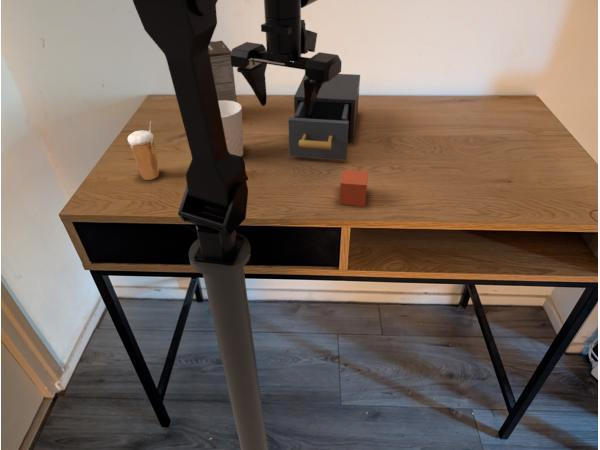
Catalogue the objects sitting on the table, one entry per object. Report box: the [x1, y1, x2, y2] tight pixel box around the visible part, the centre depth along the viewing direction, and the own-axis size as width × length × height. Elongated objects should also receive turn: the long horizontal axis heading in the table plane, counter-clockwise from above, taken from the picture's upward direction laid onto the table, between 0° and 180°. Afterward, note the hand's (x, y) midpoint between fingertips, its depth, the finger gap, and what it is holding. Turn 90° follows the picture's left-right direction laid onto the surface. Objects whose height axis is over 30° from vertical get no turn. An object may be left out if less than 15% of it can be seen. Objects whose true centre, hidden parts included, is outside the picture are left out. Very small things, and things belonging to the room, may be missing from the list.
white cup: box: [218, 101, 244, 157], centre depth 87 cm, size 8×8×10 cm
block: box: [339, 169, 369, 207], centre depth 75 cm, size 4×4×4 cm
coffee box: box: [208, 40, 238, 103], centre depth 100 cm, size 9×6×16 cm
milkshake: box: [127, 121, 160, 181], centre depth 81 cm, size 5×5×10 cm
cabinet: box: [293, 73, 361, 144], centre depth 96 cm, size 15×13×10 cm
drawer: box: [287, 101, 350, 161], centre depth 87 cm, size 18×11×8 cm, turn 170°
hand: (285, 109), depth 78 cm, fingers open, 9 cm apart
